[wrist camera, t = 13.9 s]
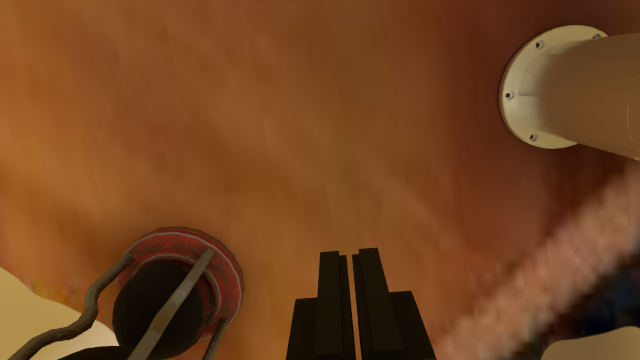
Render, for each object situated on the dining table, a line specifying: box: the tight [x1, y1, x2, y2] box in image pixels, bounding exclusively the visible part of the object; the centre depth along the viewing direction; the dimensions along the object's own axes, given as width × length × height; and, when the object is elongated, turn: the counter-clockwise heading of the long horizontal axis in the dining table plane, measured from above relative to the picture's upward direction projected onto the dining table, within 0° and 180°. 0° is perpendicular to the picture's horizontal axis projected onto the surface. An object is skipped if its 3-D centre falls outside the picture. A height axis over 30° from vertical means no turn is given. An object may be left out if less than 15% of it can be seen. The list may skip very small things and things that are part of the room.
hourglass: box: [8, 227, 244, 360], centre depth 35 cm, size 16×16×25 cm
